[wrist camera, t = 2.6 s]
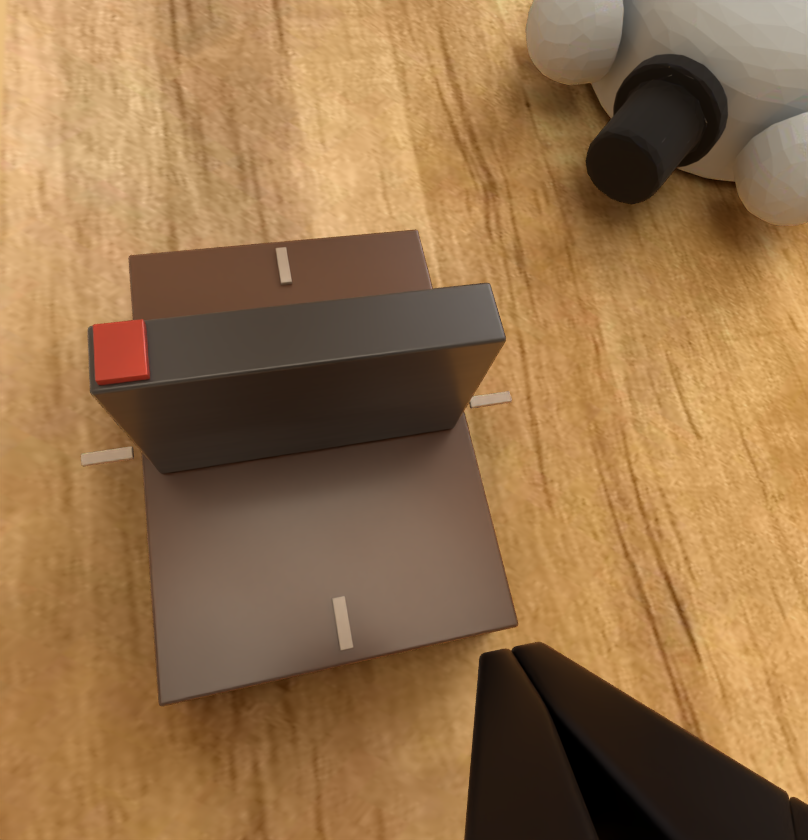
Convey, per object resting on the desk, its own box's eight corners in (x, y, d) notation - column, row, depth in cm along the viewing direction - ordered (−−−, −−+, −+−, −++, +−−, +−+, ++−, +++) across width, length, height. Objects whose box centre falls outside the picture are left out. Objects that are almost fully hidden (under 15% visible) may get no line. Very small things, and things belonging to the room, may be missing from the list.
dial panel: (537, 619, 21) (572, 614, 18) (126, 712, 18) (89, 723, 15) (444, 271, 25) (461, 221, 22) (105, 307, 23) (74, 256, 20)
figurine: (647, -80, 35) (435, 137, 30) (732, -285, 27) (461, -35, 22) (914, 83, 33) (734, 347, 28) (1095, -85, 25) (888, 244, 20)
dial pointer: (443, 384, 20) (493, 274, 14) (454, 429, 20) (511, 334, 14) (156, 424, 18) (81, 319, 13) (160, 475, 18) (84, 389, 12)
